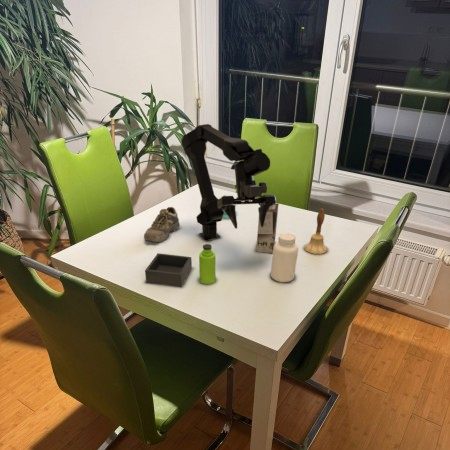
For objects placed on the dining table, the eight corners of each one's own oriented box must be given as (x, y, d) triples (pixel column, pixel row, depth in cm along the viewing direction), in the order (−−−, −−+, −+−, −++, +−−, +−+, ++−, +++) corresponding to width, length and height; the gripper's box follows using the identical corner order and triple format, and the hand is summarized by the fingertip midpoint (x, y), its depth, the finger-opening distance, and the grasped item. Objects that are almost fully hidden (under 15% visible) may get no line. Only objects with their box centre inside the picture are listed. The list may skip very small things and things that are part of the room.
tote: (158, 264, 144) (157, 253, 141) (191, 268, 142) (191, 257, 140) (146, 282, 134) (144, 270, 132) (181, 286, 132) (181, 274, 130)
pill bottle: (288, 285, 134) (293, 243, 126) (266, 278, 137) (270, 237, 129) (298, 274, 140) (303, 234, 131) (276, 268, 143) (280, 228, 135)
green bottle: (197, 278, 137) (196, 244, 130) (211, 274, 139) (210, 241, 132) (203, 285, 133) (203, 251, 126) (218, 281, 135) (218, 247, 128)
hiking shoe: (134, 236, 157) (146, 212, 150) (161, 222, 174) (174, 199, 167) (152, 252, 157) (166, 228, 150) (178, 235, 174) (191, 214, 167)
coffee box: (272, 253, 152) (276, 212, 143) (255, 251, 153) (258, 210, 144) (275, 242, 160) (279, 202, 151) (259, 241, 161) (261, 201, 152)
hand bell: (306, 242, 160) (312, 203, 151) (328, 246, 158) (335, 206, 149) (302, 252, 154) (308, 211, 145) (325, 255, 151) (332, 215, 142)
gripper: (225, 173, 124) (230, 224, 124) (281, 172, 129) (286, 221, 130) (214, 183, 134) (219, 230, 135) (266, 182, 140) (271, 227, 141)
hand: (249, 227), depth 135 cm, fingers open, 9 cm apart
